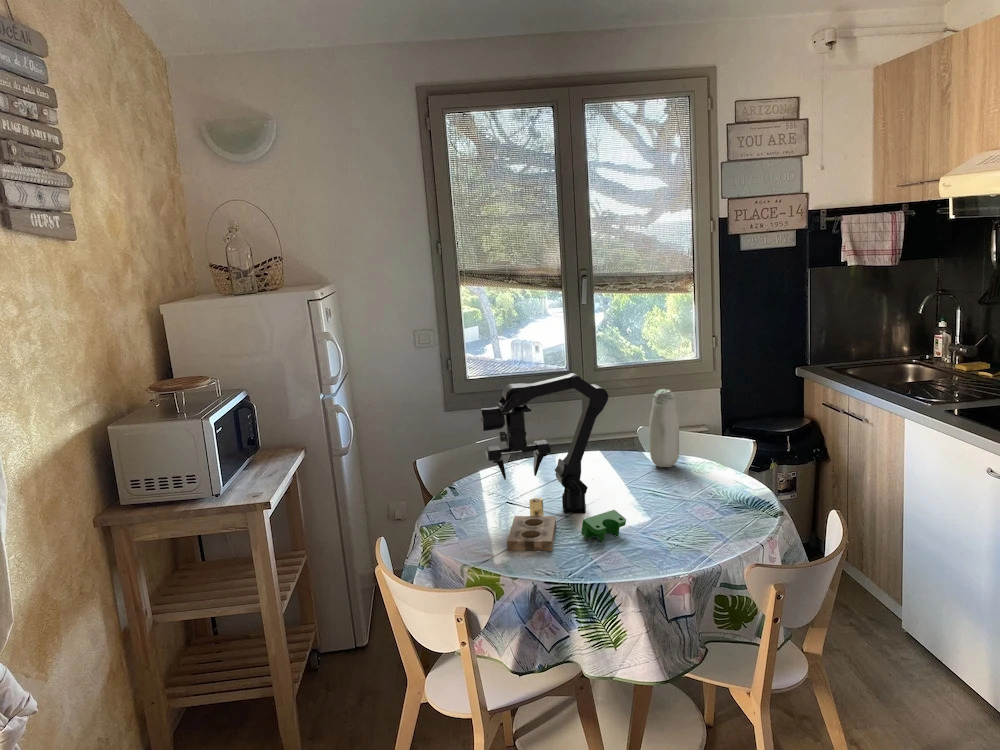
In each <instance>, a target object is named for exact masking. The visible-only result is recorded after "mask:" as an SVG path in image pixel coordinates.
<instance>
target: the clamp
mask: <svg viewBox="0 0 1000 750" xmlns="http://www.w3.org/2000/svg"><path fill="white" fill-rule="evenodd" d="M626 523H627V518H626V517H625V516H623V515H622V514H620V513H619V512H618V511H617V510H615V509H611V510H608V511H606V512H605V511H604V512H602V513H598V514H595V515H593V516H589V517H586V518H583V519H582V526H581V532H580V534H581V535H582V536H584V538H586V539H587V540H589V539H592V538H595V537H596V538H597V539H598V540H599V541H601V542H602V541H604V542H605V538H606V534H610V535H613V536H615V535H616V536H618V537H619V534H620V528H622V527H625V526H626ZM594 536H595V537H594ZM616 536H615V537H616Z"/></svg>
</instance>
